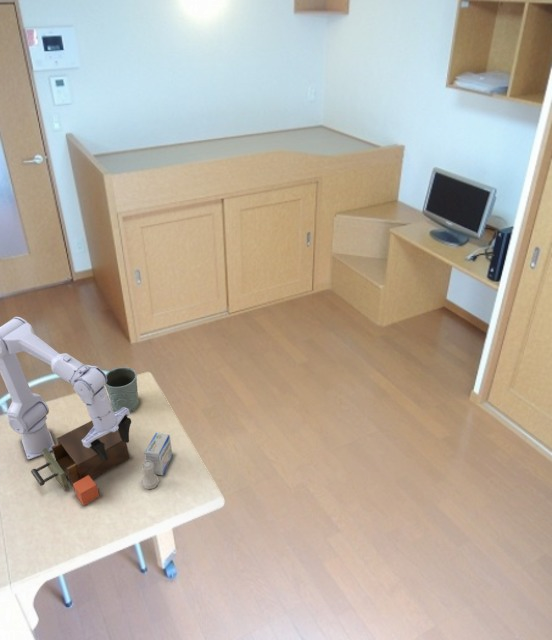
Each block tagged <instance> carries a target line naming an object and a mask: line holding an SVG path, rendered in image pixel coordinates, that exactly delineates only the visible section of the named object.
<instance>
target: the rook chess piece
mask: <svg viewBox="0 0 552 640" xmlns="http://www.w3.org/2000/svg"><path fill="white" fill-rule="evenodd" d="M153 466H154V464H153V463H152V462H151V461H150V460H148V461H146V459H145V460H144V462H142V464H141V466H140V467H141V469H142V472H143V474H144V475H143V477H142V479H141V481H142V482H141V483H142V487H143V488H144V489H147V490H152V489H153V490H154V488H156V487H157V486H158V485H159V482H160V481H159V476H158V475H157V474H154V472H153V470H154V469H153Z"/></svg>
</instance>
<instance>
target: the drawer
mask: <svg viewBox="0 0 552 640" xmlns="http://www.w3.org/2000/svg"><path fill="white" fill-rule="evenodd" d="M42 451H43V458H44V461H45V464H43V465H40V466H39V467H37V468H32V469H31V470H30V473H31V474H32V476H33V477H34V479H35V480H36V482H37V483H38V485H39V486H41V487H42V486H44V485H45V484H46V483H47V482H48V481H50V480H52V479H54V478H55V479H56V480H57V481H58V483H59V484H60V486H61V487H62V488H63V489H64V491H67V490H69V489H70V485H69V482H68V480H69V481H70V482H71V484H72V485H73V483H75V482H77V481H79V480H80V479H81V477H80V474H79V471H78V467H77V465H76V463H75V462H74V461H73V459H72V458H71V457H70V456H69V454H68V453H67V452H66V450H65V449H64V448H63V447H62V445H61V444H60V443H58V442H57V443H56V444H55V445H54V446H52V451H50V452H49V451H48V450H47V448H45V449H43V450H42ZM51 452H52V453H53V455H52V453H51ZM47 467H48V469H49V470H50V471H51V473H52V474H51V475H50V476H48V477H46V478H43V477H42V476H41V474H40V473H39V472H40V471H42V470H43V469H45V468H47ZM67 478H68V479H67Z"/></svg>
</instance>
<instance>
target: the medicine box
mask: <svg viewBox="0 0 552 640" xmlns="http://www.w3.org/2000/svg"><path fill="white" fill-rule="evenodd" d="M144 457H145V460H146V461H148V460H150V461H151V462H152V463H153V464H154V466H153V469H154V470H153V472H154V474H155V475H157V476H164V474H165V472H166V470H167V468H168V465H169V464H170V461H171V460H172V458H173V449H172V442H171V435H170V434H167V433H163V432H162V433H161V432H155V433H154V435H153V437H152V438H151V441H150V442H149V444H148V446H147V448H146V450H145V451H144Z"/></svg>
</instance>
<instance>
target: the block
mask: <svg viewBox="0 0 552 640" xmlns="http://www.w3.org/2000/svg"><path fill="white" fill-rule="evenodd" d="M72 486H73V489H74V492H75V496H76V497H77V499H78V500H79V501H80V502H81V504H82V505H83V506H86V505H87V504H89V503H91V502H92V501H95V500H96V499H97V498H100V493H99V489H98V485H97V483H96V482H95V481H94V479H91V477H90V476H89V475H88V476H86V477H84V478H82V479H81V480H78V481H77V482H75V483H73V484H72Z"/></svg>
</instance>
